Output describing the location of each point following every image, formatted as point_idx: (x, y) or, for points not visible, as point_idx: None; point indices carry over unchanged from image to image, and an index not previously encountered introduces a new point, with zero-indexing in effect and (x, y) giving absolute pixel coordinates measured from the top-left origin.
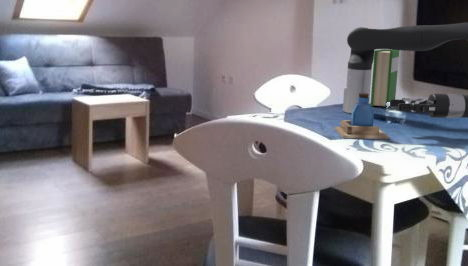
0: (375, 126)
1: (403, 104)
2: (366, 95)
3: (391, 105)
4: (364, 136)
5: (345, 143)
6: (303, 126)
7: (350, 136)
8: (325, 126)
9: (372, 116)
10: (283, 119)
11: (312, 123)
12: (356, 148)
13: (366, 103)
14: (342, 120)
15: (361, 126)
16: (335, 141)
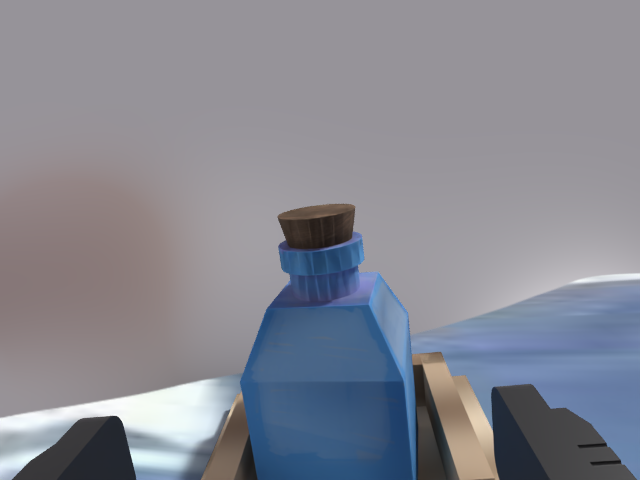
0: (228, 476)
1: (52, 463)
2: (281, 226)
3: (502, 471)
4: (207, 470)
5: (135, 407)
6: (480, 318)
7: (229, 418)
8: (526, 363)
9: (247, 394)
10: (606, 280)
11: (580, 332)
12: (31, 431)
13: (293, 287)
14: (433, 356)
15: (243, 410)
16: (183, 384)
